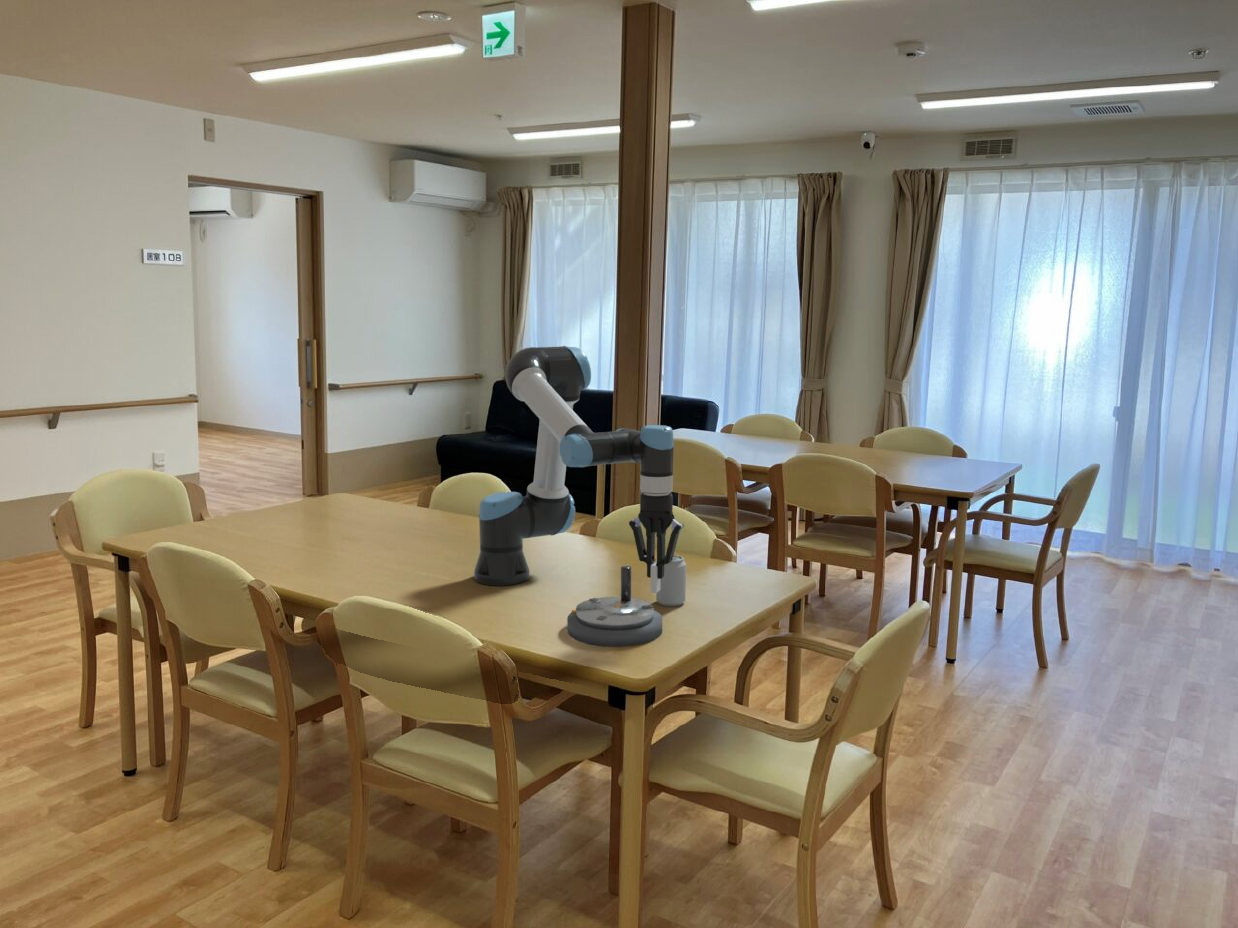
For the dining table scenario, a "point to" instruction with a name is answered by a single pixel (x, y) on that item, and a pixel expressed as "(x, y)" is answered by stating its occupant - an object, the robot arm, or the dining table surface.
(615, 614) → the peg stand
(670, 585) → the can
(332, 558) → the dining table surface
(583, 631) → the base
